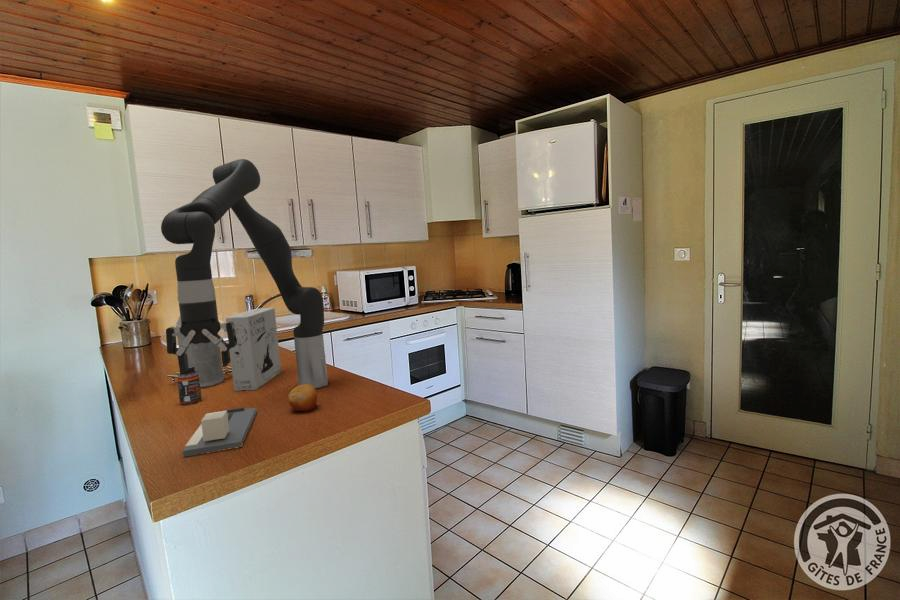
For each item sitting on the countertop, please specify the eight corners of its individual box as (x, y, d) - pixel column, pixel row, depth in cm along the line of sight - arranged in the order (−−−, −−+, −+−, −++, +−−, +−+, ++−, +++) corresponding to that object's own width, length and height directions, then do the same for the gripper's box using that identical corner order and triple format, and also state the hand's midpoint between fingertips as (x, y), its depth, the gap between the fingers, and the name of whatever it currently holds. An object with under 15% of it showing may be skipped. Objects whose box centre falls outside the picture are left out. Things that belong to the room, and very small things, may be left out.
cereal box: (256, 390, 147) (247, 316, 144) (233, 391, 147) (224, 317, 144) (281, 372, 168) (274, 307, 166) (262, 373, 169) (254, 308, 166)
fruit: (327, 398, 130) (317, 379, 125) (315, 420, 124) (303, 401, 119) (304, 396, 133) (293, 378, 128) (291, 418, 127) (278, 400, 122)
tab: (229, 430, 108) (226, 410, 108) (224, 438, 104) (222, 417, 103) (209, 433, 107) (206, 413, 107) (203, 441, 102) (200, 420, 102)
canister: (214, 374, 171) (201, 272, 166) (230, 382, 159) (217, 272, 154) (176, 383, 162) (162, 275, 157) (191, 391, 150) (175, 275, 145)
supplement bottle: (191, 405, 135) (187, 369, 134) (175, 405, 136) (170, 369, 135) (206, 398, 141) (201, 364, 140) (190, 398, 142) (185, 364, 141)
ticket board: (256, 412, 125) (255, 404, 125) (241, 447, 102) (240, 438, 102) (210, 419, 122) (209, 411, 122) (183, 457, 99) (182, 447, 99)
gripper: (234, 296, 107) (241, 361, 109) (168, 300, 104) (177, 368, 106) (227, 298, 100) (235, 368, 102) (156, 304, 97) (165, 376, 98)
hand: (205, 368), depth 104 cm, fingers open, 8 cm apart
